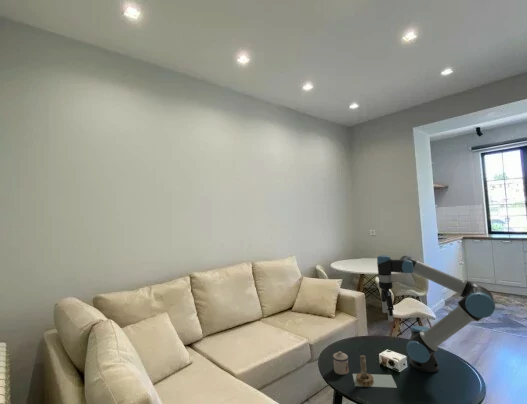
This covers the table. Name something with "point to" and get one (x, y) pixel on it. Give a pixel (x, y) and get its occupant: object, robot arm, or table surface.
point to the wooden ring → (365, 382)
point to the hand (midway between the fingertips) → (387, 316)
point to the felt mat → (379, 381)
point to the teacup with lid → (340, 363)
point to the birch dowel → (363, 367)
